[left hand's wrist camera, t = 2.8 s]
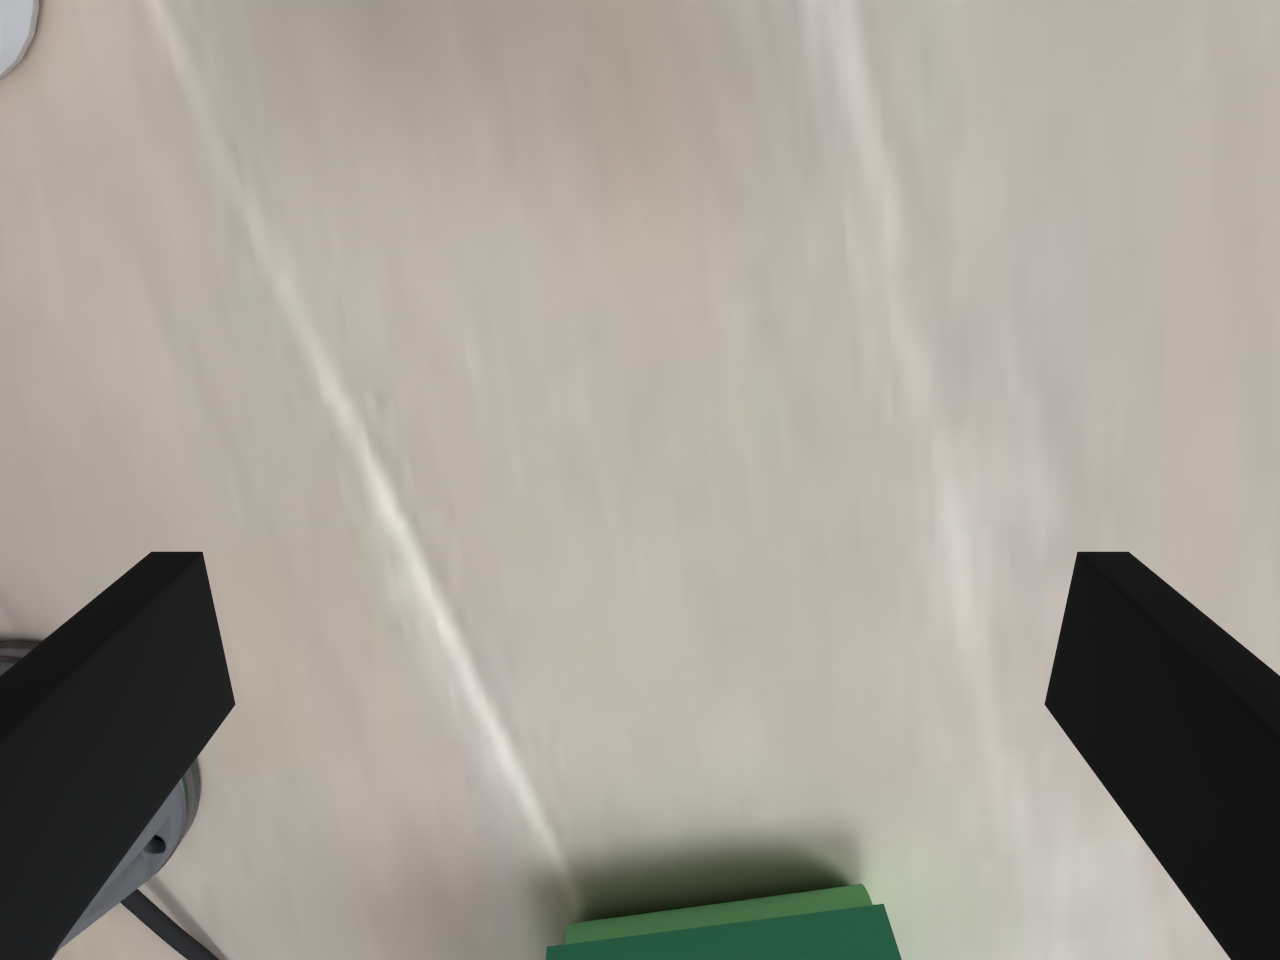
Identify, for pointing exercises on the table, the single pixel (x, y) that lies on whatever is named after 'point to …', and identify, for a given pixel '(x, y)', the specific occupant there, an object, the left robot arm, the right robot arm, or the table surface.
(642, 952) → the toy tank
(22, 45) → the mug
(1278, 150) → the table surface
